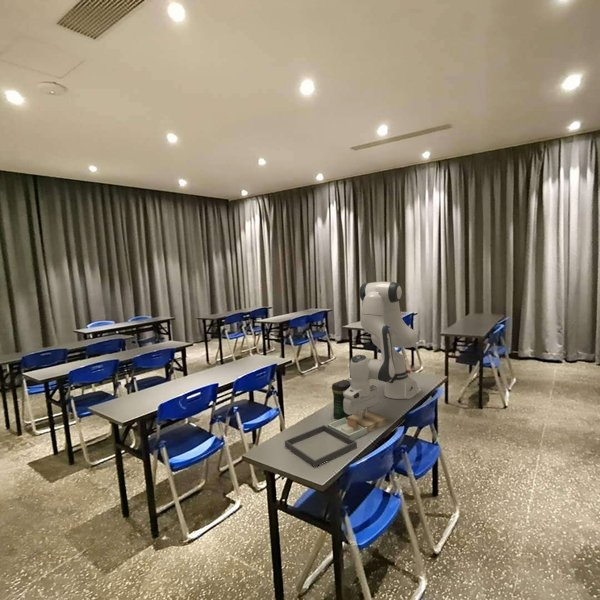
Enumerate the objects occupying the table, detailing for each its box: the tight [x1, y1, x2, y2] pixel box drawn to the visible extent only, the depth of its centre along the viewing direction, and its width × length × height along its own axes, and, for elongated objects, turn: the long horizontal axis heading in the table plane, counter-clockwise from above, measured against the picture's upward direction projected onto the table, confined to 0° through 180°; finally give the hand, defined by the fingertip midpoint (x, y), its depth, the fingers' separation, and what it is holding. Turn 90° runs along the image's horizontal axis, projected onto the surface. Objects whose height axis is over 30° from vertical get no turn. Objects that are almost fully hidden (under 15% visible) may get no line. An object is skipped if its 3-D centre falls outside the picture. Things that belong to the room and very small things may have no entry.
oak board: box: [346, 410, 388, 434], centre depth 174 cm, size 13×14×3 cm
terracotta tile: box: [346, 419, 357, 431], centre depth 169 cm, size 4×4×2 cm
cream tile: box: [341, 425, 354, 434], centre depth 167 cm, size 4×4×2 cm
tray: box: [327, 418, 368, 441], centre depth 167 cm, size 11×15×3 cm
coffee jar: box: [331, 379, 353, 420], centre depth 183 cm, size 10×8×19 cm
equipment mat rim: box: [284, 424, 358, 468], centre depth 156 cm, size 22×22×2 cm
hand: (362, 417), depth 173 cm, fingers closed
